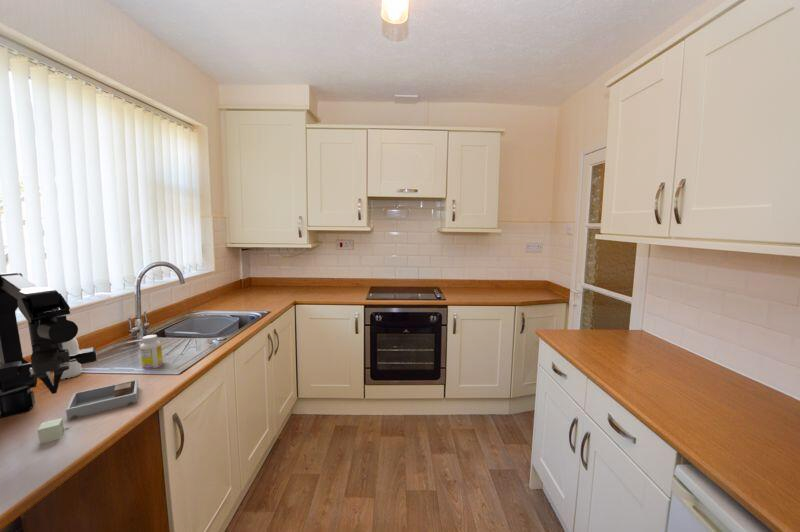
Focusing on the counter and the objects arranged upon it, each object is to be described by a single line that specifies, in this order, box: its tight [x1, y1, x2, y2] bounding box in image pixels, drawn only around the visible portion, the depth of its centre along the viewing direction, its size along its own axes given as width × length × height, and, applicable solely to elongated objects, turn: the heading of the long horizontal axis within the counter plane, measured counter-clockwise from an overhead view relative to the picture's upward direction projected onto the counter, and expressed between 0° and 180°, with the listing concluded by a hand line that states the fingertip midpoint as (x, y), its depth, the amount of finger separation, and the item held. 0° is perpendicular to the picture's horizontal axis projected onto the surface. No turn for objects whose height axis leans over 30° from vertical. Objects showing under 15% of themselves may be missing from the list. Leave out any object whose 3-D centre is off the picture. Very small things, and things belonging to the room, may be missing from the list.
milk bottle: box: [52, 336, 83, 380], centre depth 128 cm, size 8×8×20 cm
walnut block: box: [114, 382, 132, 398], centre depth 111 cm, size 4×4×4 cm
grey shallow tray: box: [65, 379, 139, 421], centre depth 108 cm, size 16×13×4 cm
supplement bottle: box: [139, 334, 164, 370], centre depth 136 cm, size 7×7×13 cm
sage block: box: [37, 417, 65, 445], centre depth 92 cm, size 4×4×4 cm
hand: (54, 393), depth 93 cm, fingers closed
